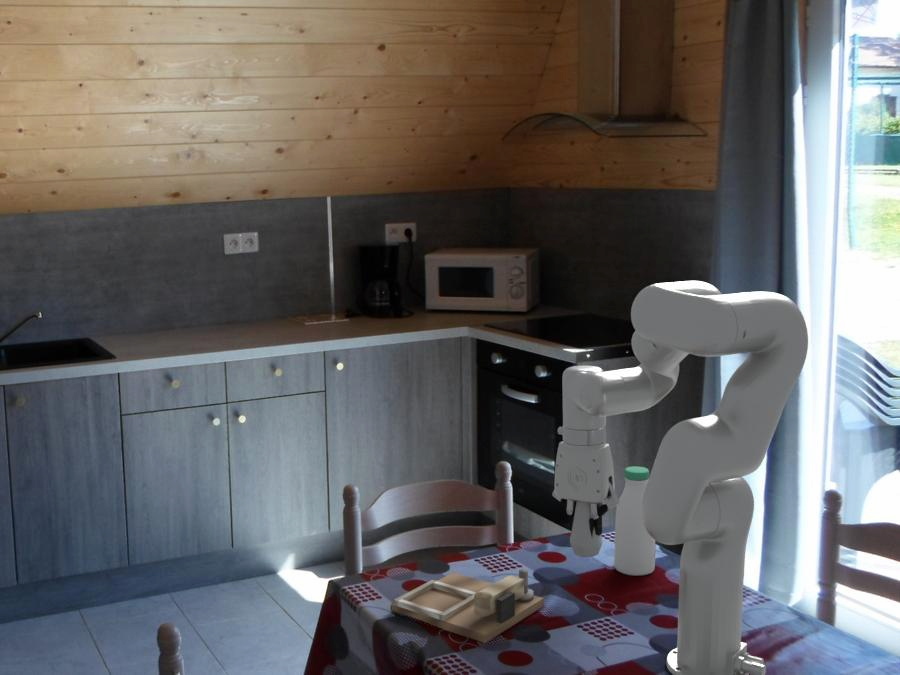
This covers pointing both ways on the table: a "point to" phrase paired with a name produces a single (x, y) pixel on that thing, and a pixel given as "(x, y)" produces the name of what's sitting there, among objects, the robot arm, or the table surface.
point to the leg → (497, 594)
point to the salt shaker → (584, 532)
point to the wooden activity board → (466, 606)
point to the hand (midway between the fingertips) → (586, 535)
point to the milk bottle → (633, 527)
